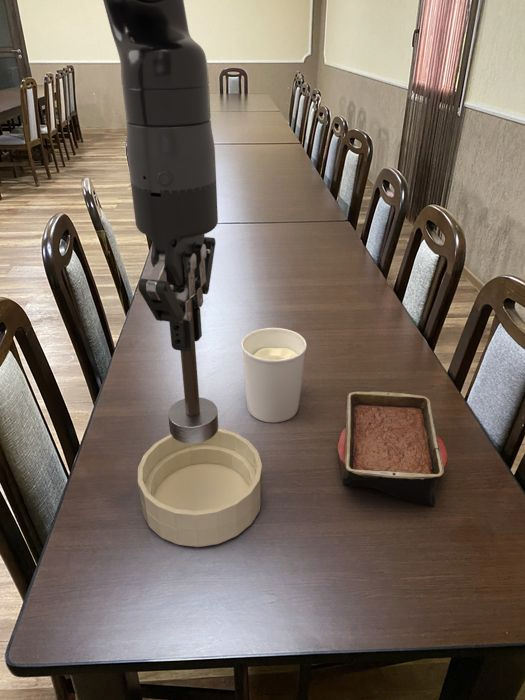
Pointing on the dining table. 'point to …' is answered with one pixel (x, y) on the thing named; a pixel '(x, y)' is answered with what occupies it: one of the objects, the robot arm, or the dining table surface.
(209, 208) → the robot arm
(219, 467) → the bowl
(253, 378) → the white cup
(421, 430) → the baking dish
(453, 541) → the dining table surface
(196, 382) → the rod with silver disc
